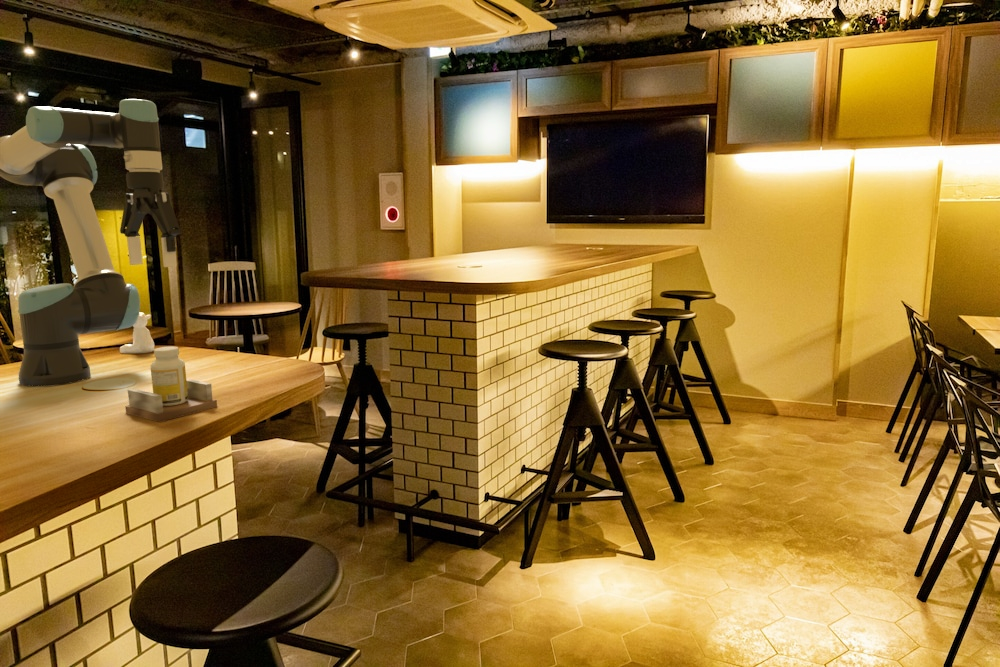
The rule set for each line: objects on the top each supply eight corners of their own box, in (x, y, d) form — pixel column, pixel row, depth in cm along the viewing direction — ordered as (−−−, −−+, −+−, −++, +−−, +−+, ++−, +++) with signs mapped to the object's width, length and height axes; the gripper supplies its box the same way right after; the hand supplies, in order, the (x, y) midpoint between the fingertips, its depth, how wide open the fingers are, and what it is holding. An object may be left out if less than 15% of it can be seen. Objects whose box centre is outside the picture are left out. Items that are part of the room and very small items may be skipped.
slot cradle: (126, 413, 147) (123, 389, 146) (183, 399, 158) (181, 377, 157) (159, 422, 141) (157, 397, 140) (217, 406, 151) (215, 383, 151)
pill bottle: (179, 397, 153) (174, 344, 151) (194, 402, 149) (189, 347, 147) (148, 403, 149) (143, 349, 147) (163, 409, 144) (157, 352, 142)
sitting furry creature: (149, 347, 218) (145, 309, 216) (165, 350, 214) (162, 310, 212) (118, 353, 211) (114, 312, 209) (135, 356, 206) (131, 315, 204)
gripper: (97, 172, 164) (107, 264, 168) (160, 168, 151) (169, 268, 155) (129, 173, 171) (138, 262, 174) (192, 170, 157) (200, 266, 161)
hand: (152, 265), depth 164 cm, fingers open, 13 cm apart
